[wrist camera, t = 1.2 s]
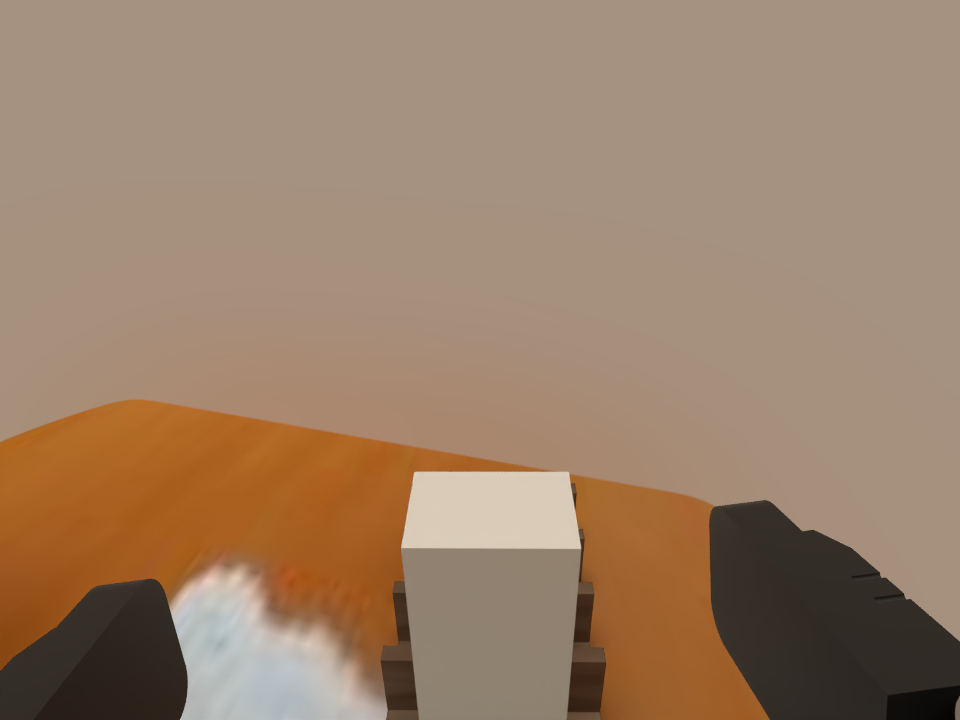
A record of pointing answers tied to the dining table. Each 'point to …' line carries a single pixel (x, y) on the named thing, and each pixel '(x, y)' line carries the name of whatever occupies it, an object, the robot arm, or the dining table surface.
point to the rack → (583, 667)
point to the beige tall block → (491, 593)
